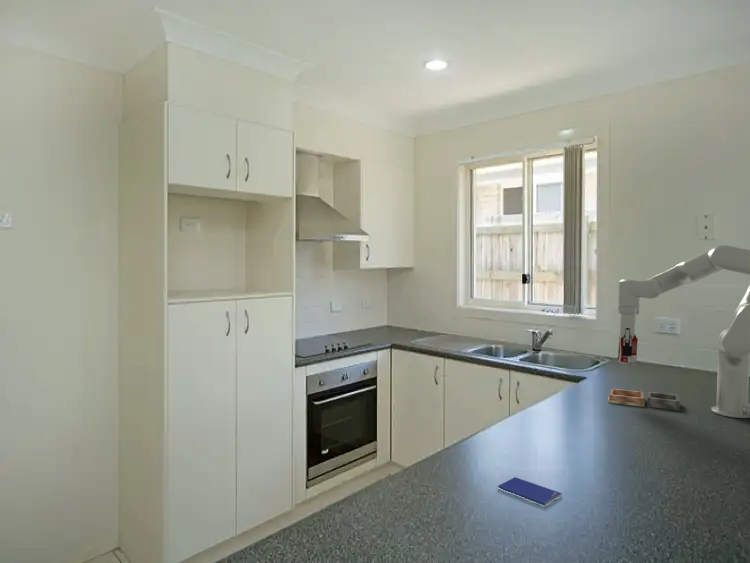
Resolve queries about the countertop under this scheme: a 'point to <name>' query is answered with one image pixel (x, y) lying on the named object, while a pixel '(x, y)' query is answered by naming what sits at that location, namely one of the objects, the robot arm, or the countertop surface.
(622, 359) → the soda can
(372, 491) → the countertop surface
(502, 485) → the hard drive
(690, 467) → the countertop surface
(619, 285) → the robot arm
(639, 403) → the dock
